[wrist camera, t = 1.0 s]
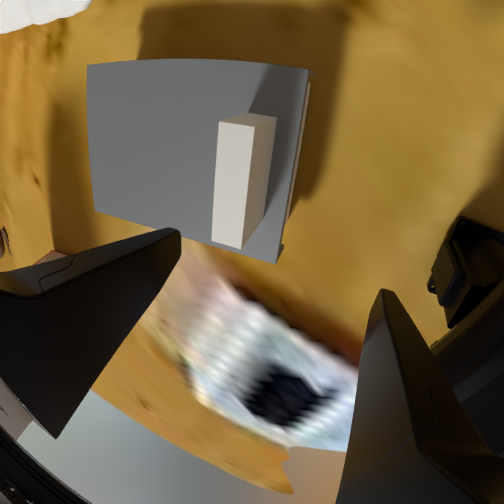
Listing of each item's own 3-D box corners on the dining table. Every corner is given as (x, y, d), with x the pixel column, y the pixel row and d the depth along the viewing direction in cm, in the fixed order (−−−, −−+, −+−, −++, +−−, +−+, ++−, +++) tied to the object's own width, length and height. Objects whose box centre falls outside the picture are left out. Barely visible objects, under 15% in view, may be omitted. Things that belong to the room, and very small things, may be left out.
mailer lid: (314, 71, 15) (292, 65, 10) (283, 248, 21) (257, 299, 17) (106, 63, 18) (48, 70, 14) (110, 201, 24) (64, 230, 20)
